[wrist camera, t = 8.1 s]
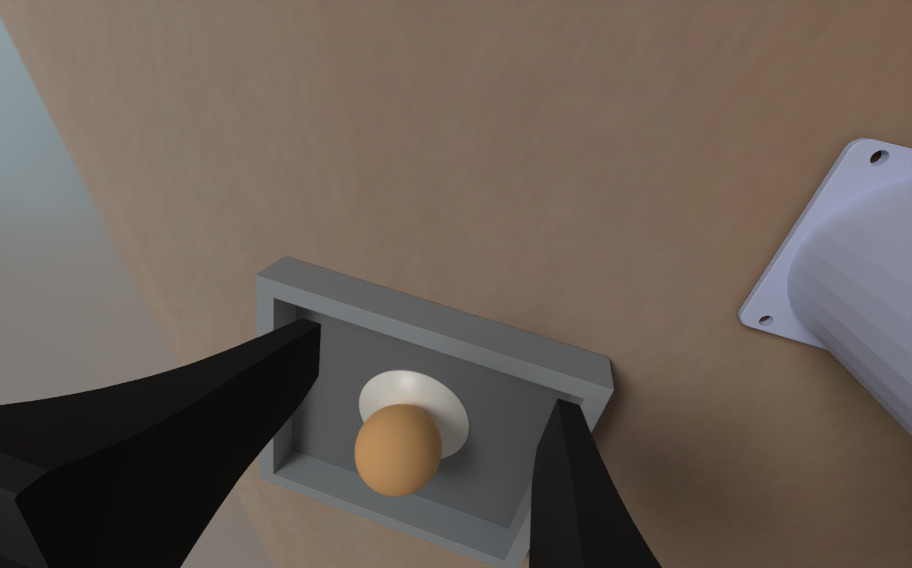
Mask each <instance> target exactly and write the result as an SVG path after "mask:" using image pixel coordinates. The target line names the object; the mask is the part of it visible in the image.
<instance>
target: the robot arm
mask: <svg viewBox="0 0 912 568" xmlns="http://www.w3.org/2000/svg"><path fill="white" fill-rule="evenodd" d="M879 150H881V153H882V154H881V157H880V159H879V160H878V161H876V162H874V163H872V164H871V162H870V158H871V156H872V155H873V154H874V153H875V152H877V151H879ZM763 316H769V318H768V319H767V320H766V321H763V322H760V321H759V320H760V318H762V317H763ZM738 318H739V319H740V321H741V322H742V323H743V324H744V325H746V326H748V327H751V328H755V329H758V330H762V331H765V332H768V333H772V334H775V335H778V336H782V337H785V338H789V339H792V340H795V341H799V342H802V343H806V344H809V345H812V346H816V347H819V348H823V349H826V350H828V351H829V352H830V353H831V354H832V355H833V356H834V357H835V358H836V359H837V360H838V361H839V362H840V363H841V364H842V365H843V366H844V367H845V368H846V369H847V370H848V371H849V372H850V373H851V374H852V375H853V376H854V377H855V378H856V379H857V380H858V382H859V383H860V384H861V385H862V386H863V387H864V388H865V389H866V390H867V391H868V392H869V393H870V394H871V395H872V396H873V397H874V398H875V399H876V400H877V401H878V402H879V403H880V404H881V405H882V406H883V407H884V408H885V409H886V410H887V411H888V412H889V413H890V414H891V416H892V417H893V418H894V419H895V420H896V421H897V422H898V423H899V424H900V425H901V426H902V427H903V428H904V429H905V430H906V431H907V432H908V433H909V434H910V435H911V436H912V149H911V148H906V147H902V146H898V145H894V144H890V143H886V142H882V141H878V140H874V139H868V138H860V139H856V140H854V141H852V142H850V143H849V144H848V145H847V146H846V147H845V148H844V149H843V151H842V152H841V154H840V155H839V157H838V158H837V160H836V162H835V163H834V165H833V166H832V168H831V169H830V171H829V172H828V174H827V175H826V177H825V179H824V180H823V182H822V183H821V185H820V186H819V188H818V189H817V191H816V192H815V194H814V196H813V197H812V199H811V200H810V202H809V203H808V205H807V206H806V208H805V209H804V211H803V213H802V214H801V216H800V217H799V219H798V220H797V222H796V223H795V225H794V226H793V228H792V230H791V231H790V233H789V234H788V236H787V237H786V239H785V240H784V242H783V243H782V245H781V247H780V248H779V250H778V251H777V253H776V254H775V256H774V257H773V259H772V260H771V262H770V264H769V265H768V267H767V268H766V270H765V271H764V273H763V274H762V276H761V277H760V279H759V281H758V282H757V284H756V285H755V287H754V288H753V290H752V291H751V293H750V294H749V296H748V298H747V299H746V301H745V302H744V304H743V305H742V307H741V308H740V310H739V312H738ZM320 340H321V324H320V323H317V322H314V321H311V320H307V319H304V318H302V319H299V320H296V321H294V322H292V323H289V324H287V325H285V326H282V327H280V328H278V329H276V330H273V331H271V332H269V333H267V334H264V335H262V336H260V337H257V338H255V339H253V340H250V341H248V342H246V343H243V344H241V345H239V346H236V347H234V348H231V349H229V350H226V351H223V352H221V353H218V354H216V355H213V356H210V357H208V358H205V359H203V360H200V361H197V362H194V363H191V364H189V365H185V366H182V367H179V368H176V369H173V370H170V371H167V372H163V373H160V374H156V375H153V376H149V377H146V378H142V379H138V380H134V381H129V382H126V383H121V384H118V385H114V386H109V387H105V388H101V389H96V390H91V391H86V392H81V393H76V394H71V395H65V396H59V397H54V398H48V399H41V400H35V401H29V402H21V403H13V404H5V405H0V568H180V567H181V566H182V564H183V562H184V561H185V559H186V557H187V556H188V554H189V553H190V551H191V550H192V548H193V546H194V545H195V543H196V542H197V540H198V539H199V537H200V536H201V534H202V533H203V531H204V530H205V528H206V526H207V525H208V524H209V522H210V520H211V519H212V517H213V516H214V514H215V513H216V511H217V510H218V508H219V507H220V506H221V504H222V503H223V501H224V500H225V498H226V497H227V495H228V494H229V493H230V491H231V490H232V488H233V487H234V485H235V484H236V482H237V481H238V480H239V478H240V477H241V476H242V474H243V473H244V472H245V470H246V469H247V468H248V467H249V465H250V464H251V463H252V462H253V461H254V459H255V458H256V457H257V456H258V455H259V453H260V452H261V451H262V450H263V449H264V447H265V446H266V445H267V444H268V443H269V442H270V440H271V439H272V438H273V437H274V436H275V434H276V433H277V432H278V431H279V430H280V429H281V427H282V426H283V425H284V424H285V423H286V421H287V420H288V419H289V418H290V417H291V415H292V414H293V413H294V412H295V411H296V409H297V408H298V407H299V406H300V404H301V403H302V401H303V400H304V398H305V397H306V395H307V394H308V392H309V391H310V389H311V388H312V386H313V384H314V383H315V381H316V380H317V378H318V376H319V362H320ZM529 568H662V567H661V565H660V564H659V562H658V561H657V559H656V558H655V556H654V555H653V553H652V552H651V550H650V549H649V547H648V545H647V544H646V542H645V540H644V539H643V537H642V536H641V534H640V532H639V531H638V529H637V527H636V525H635V524H634V522H633V520H632V518H631V517H630V515H629V513H628V511H627V509H626V507H625V505H624V504H623V502H622V500H621V498H620V496H619V494H618V492H617V490H616V488H615V486H614V484H613V482H612V480H611V478H610V476H609V473H608V471H607V469H606V467H605V465H604V463H603V460H602V458H601V456H600V454H599V451H598V449H597V447H596V444H595V442H594V440H593V437H592V435H591V432H590V430H589V427H588V424H587V422H586V419H585V417H584V414H583V411H582V409H581V407H580V405H578V404H575V403H572V402H569V401H565V400H562V399H559V398H557V401H556V403H555V406H554V408H553V410H552V413H551V415H550V418H549V420H548V422H547V425H546V427H545V429H544V432H543V434H542V437H541V439H540V441H539V444H538V446H537V450H536V456H535V463H534V470H533V477H532V489H531V520H530V556H529Z"/></svg>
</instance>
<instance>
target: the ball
mask: <svg viewBox="0 0 912 568" xmlns="http://www.w3.org/2000/svg"><path fill="white" fill-rule="evenodd" d="M441 453H442V443H441V437H440V434H439V431H438V428H437V426H436V424H435V423H434V421H433V420H432V419H431V418H430V416H429V415H428V414H426V413H425V412H424V411H422V410H421V409H419V408H417V407H415V406H411V405H407V404H393V405H389V406H386V407H384V408H381V409H379V410H378V411H376V412H375V413H374V414H372V415H371V416H370V417H369V418H368V419H367V420H366V421H365V423H364V424H363V426H362V427H361V429H360V431H359V433H358V436H357V439H356V443H355V462H356V467H357V469H358V472H359V474H360V476H361V478H362V479H363V480H364V482H365V483H366V484H367V485H368V486H369V487H370V488H371V489H373V490H374V491H376V492H378V493H380V494H382V495H385V496H390V497H402V496H407V495H410V494H413V493H415V492H417V491H418V490H420V489H421V488H423V487H424V486H425V485H426V484H427V483H428V482H429V481H430V480H431V479H432V477H433V476H434V474H435V472H436V470H437V468H438V466H439V463H440V459H441Z"/></svg>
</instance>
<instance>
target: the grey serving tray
mask: <svg viewBox="0 0 912 568" xmlns="http://www.w3.org/2000/svg"><path fill="white" fill-rule="evenodd" d="M255 282H256V327H257V337H260V336H262V335H264V334H267V333H269V332H271V331H273V330H276V329H278V328H280V327H282V326H285V325H287V324H289V323H292V322H294V321H296V320H299V319H302V318H304V319H307V320H311V321H314V322H317V323H320V324H321V340H320V362H319V376H318V378H317V380H316V381H315V383H314V384H313V386H312V388H311V389H310V391H309V392H308V394H307V395H306V397H305V398H304V400H303V401H302V403H301V404H300V406H299V407H298V408H297V409H296V411H295V412H294V413H293V414H292V415H291V417H290V418H289V419H288V420H287V421H286V423H285V424H284V425H283V426H282V427H281V429H280V430H279V431H278V432H277V433H276V434H275V436H274V437H273V438H272V439H271V440H270V442H269V443H268V444H267V445H266V446H265V447H264V449H263V450H262V451H261V452H260V453H259V464H260V479H263V480H265V481H268V482H271V483H273V484H276V485H279V486H281V487H284V488H286V489H289V490H292V491H294V492H297V493H300V494H302V495H305V496H308V497H310V498H313V499H316V500H318V501H321V502H324V503H326V504H329V505H332V506H334V507H337V508H340V509H342V510H345V511H348V512H350V513H353V514H356V515H358V516H361V517H364V518H366V519H369V520H372V521H374V522H377V523H379V524H382V525H385V526H387V527H390V528H393V529H395V530H398V531H401V532H403V533H406V534H409V535H411V536H414V537H417V538H419V539H422V540H425V541H427V542H430V543H433V544H435V545H438V546H441V547H443V548H446V549H449V550H451V551H454V552H457V553H459V554H462V555H465V556H467V557H470V558H473V559H475V560H478V561H480V562H483V563H486V564H488V565H491V566H494V567H496V568H520V566H521V564H522V562H523V560H524V558H525V556H526V554H527V553H528V551H529V549H530V520H531V489H532V477H533V470H534V463H535V456H536V450H537V446H538V444H539V441H540V439H541V437H542V434H543V432H544V429H545V427H546V425H547V422H548V420H549V418H550V415H551V413H552V410H553V408H554V406H555V403H556V401H557V398H559V399H562V400H565V401H569V402H572V403H575V404H578V405H580V407H581V409H582V411H583V414H584V417H585V419H586V422H587V424H588V427H589V430H590V432H592V431H593V429H594V427H595V425H596V423H597V421H598V419H599V417H600V416H601V414H602V412H603V410H604V408H605V406H606V404H607V402H608V401H609V399H610V397H611V395H612V393H613V391H614V386H613V380H612V373H611V367H610V361H609V357H605V356H602V355H599V354H596V353H593V352H589V351H586V350H583V349H580V348H577V347H573V346H570V345H567V344H564V343H561V342H557V341H554V340H551V339H548V338H545V337H541V336H538V335H535V334H532V333H529V332H526V331H522V330H519V329H516V328H513V327H510V326H506V325H503V324H500V323H497V322H494V321H490V320H487V319H484V318H481V317H478V316H474V315H471V314H468V313H465V312H462V311H458V310H455V309H452V308H449V307H446V306H442V305H439V304H436V303H433V302H430V301H427V300H423V299H420V298H417V297H414V296H411V295H407V294H404V293H401V292H398V291H395V290H391V289H388V288H385V287H382V286H379V285H375V284H372V283H369V282H366V281H363V280H359V279H356V278H353V277H350V276H347V275H343V274H340V273H337V272H334V271H331V270H328V269H324V268H321V267H318V266H315V265H312V264H308V263H305V262H302V261H299V260H296V259H292V258H289V257H286V256H284V257H283V258H281V259H280V260H278V261H276V262H275V263H273V264H272V265H270V266H269V267H267V268H265V269H264V270H262V271H261V272H259V273H258V274H256V275H255ZM393 404H407V405H411V406H415V407H417V408H419V409H421V410H422V411H424V412H425V413H426V414H428V415H429V416H430V418H431V419H432V420H433V421H434V423H435V424H436V426H437V428H438V431H439V434H440V437H441V443H442V453H441V459H440V463H439V466H438V468H437V470H436V472H435V474H434V476H433V477H432V479H431V480H430V481H429V482H428V483H427V484H426V485H425V486H424V487H423V488H421V489H420V490H418V491H417V492H415V493H413V494H410V495H407V496H402V497H390V496H385V495H382V494H380V493H378V492H376V491H374V490H373V489H371V488H370V487H369V486H368V485H367V484H366V483H365V482H364V480H363V479H362V478H361V476H360V474H359V472H358V469H357V467H356V462H355V443H356V439H357V436H358V433H359V431H360V429H361V427H362V426H363V424H364V423H365V421H366V420H367V419H368V418H369V417H370V416H371V415H372V414H374V413H375V412H376V411H378V410H379V409H381V408H384V407H386V406H389V405H393Z"/></svg>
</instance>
